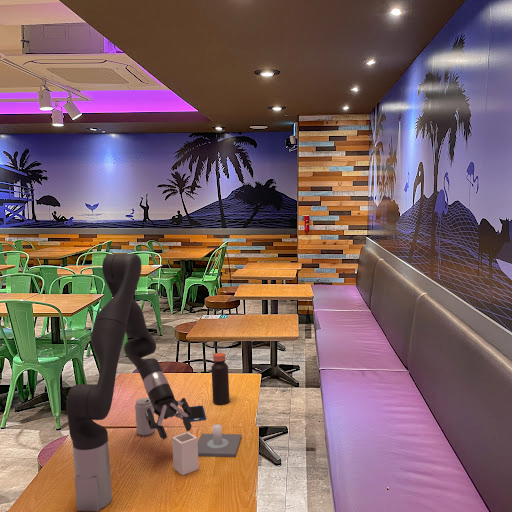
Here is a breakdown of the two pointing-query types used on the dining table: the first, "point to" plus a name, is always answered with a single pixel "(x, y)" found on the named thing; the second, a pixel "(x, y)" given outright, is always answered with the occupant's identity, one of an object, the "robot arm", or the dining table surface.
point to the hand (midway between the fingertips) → (177, 434)
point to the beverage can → (143, 416)
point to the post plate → (220, 451)
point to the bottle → (220, 380)
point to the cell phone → (197, 414)
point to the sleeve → (185, 453)
